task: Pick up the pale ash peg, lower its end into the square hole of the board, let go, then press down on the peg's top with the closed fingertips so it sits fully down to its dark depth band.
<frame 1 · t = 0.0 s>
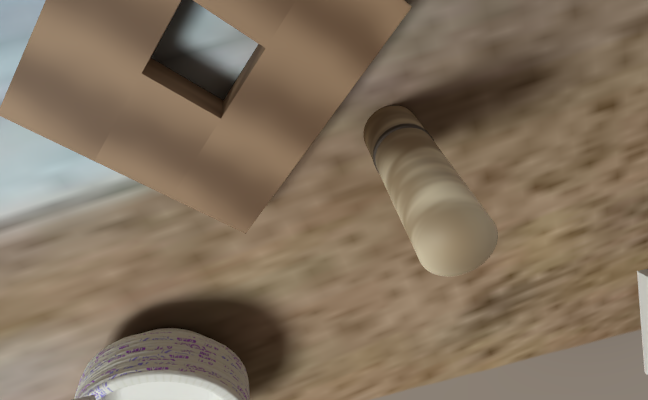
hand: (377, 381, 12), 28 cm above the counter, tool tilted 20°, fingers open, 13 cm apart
paper bowls: (172, 359, 50), on the counter
peg: (391, 131, 39), on the counter
board: (207, 46, 34), on the counter
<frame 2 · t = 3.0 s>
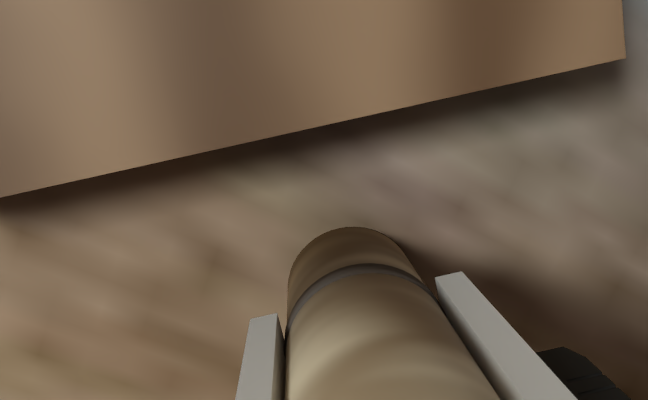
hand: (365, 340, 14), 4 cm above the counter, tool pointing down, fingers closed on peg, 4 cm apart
peg: (350, 287, 17), on the counter, touching gripper
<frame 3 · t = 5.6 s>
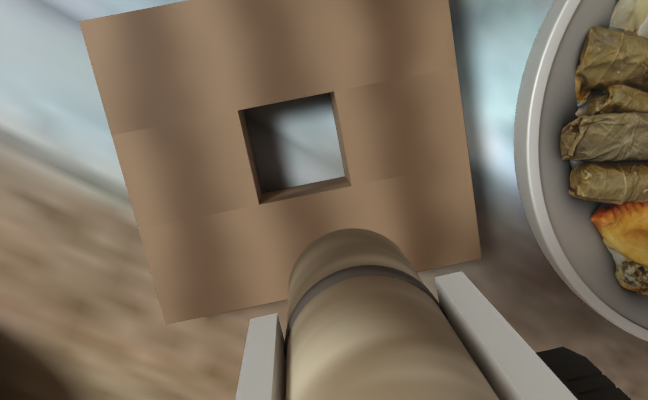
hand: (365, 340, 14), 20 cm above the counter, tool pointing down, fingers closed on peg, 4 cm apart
peg: (351, 288, 17), point 16 cm above the counter, touching gripper
board: (295, 143, 32), on the counter
when the fingers open (5 cm above the counter, at t = 8.6 s): peg drops 2 cm, resting in board.
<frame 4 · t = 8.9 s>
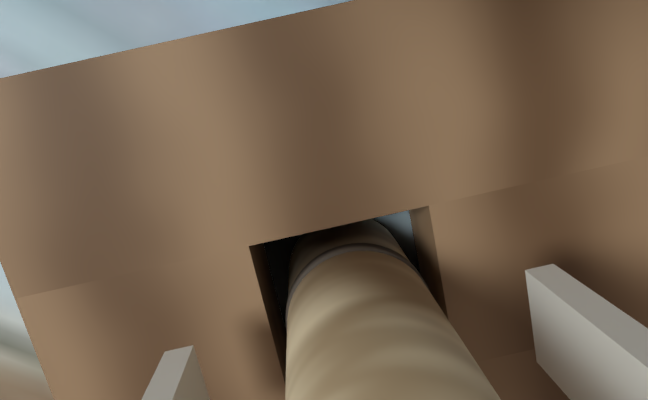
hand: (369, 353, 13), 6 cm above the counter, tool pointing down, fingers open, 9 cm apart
peg: (346, 269, 19), resting in board
board: (345, 269, 19), on the counter
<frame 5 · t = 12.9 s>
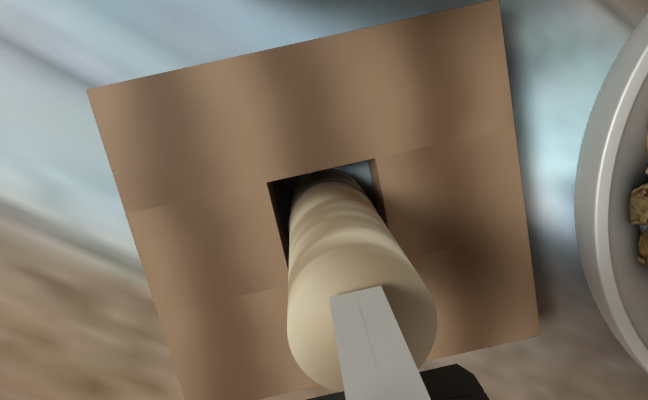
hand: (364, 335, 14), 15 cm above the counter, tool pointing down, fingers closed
peg: (328, 206, 29), resting in board
board: (327, 206, 29), on the counter
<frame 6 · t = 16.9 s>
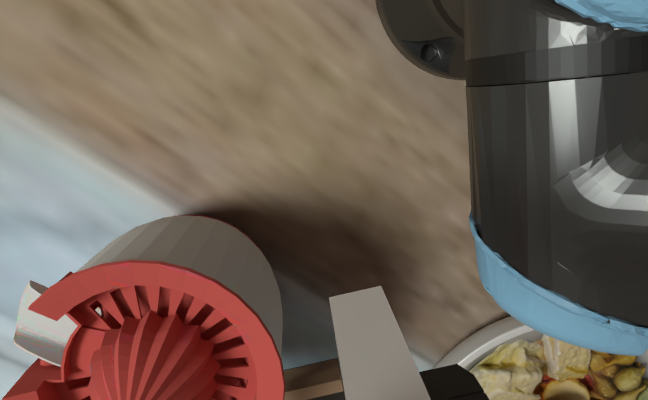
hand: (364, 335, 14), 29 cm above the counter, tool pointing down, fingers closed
citrus juicer: (191, 275, 44), on the counter
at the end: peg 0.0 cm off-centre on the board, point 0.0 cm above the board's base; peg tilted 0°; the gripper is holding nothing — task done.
